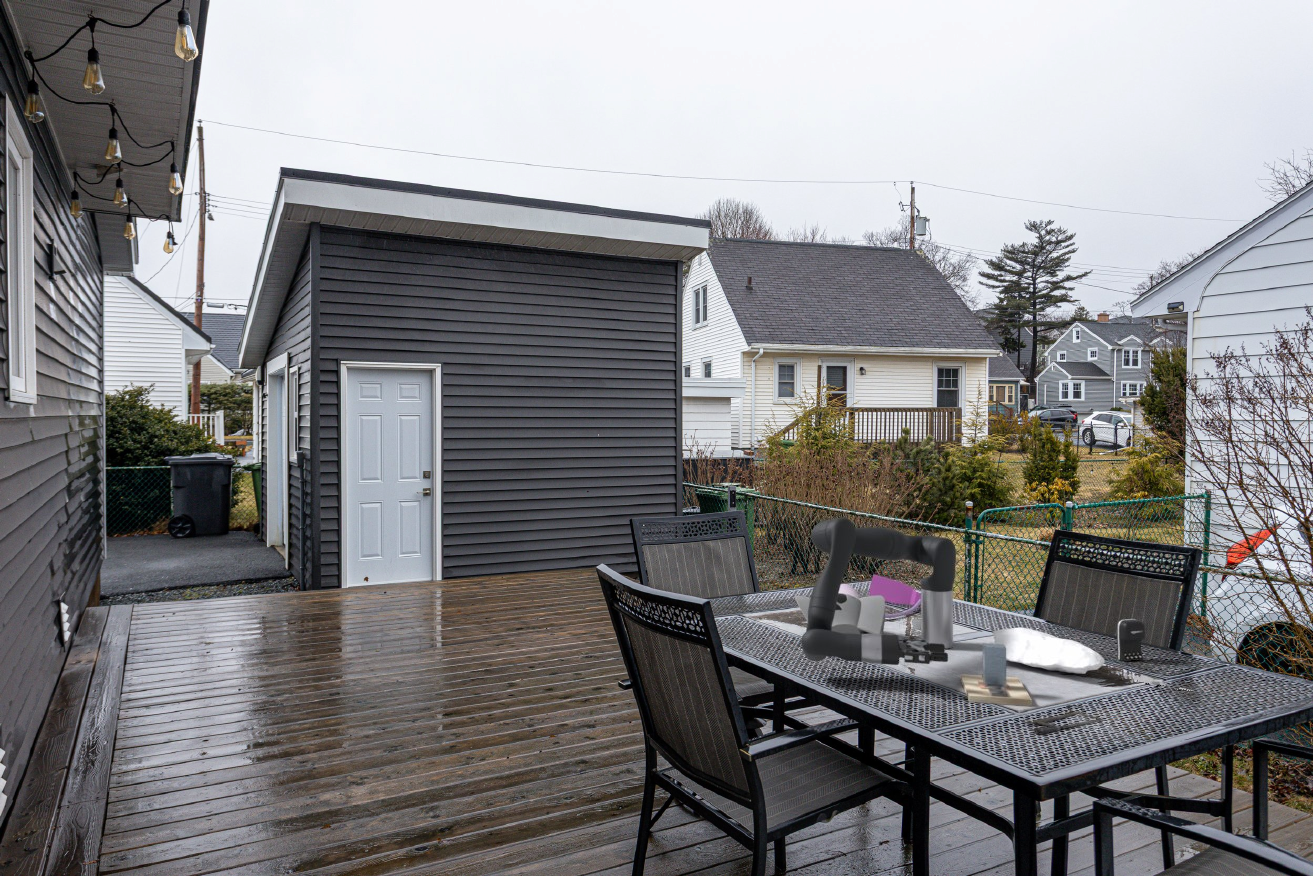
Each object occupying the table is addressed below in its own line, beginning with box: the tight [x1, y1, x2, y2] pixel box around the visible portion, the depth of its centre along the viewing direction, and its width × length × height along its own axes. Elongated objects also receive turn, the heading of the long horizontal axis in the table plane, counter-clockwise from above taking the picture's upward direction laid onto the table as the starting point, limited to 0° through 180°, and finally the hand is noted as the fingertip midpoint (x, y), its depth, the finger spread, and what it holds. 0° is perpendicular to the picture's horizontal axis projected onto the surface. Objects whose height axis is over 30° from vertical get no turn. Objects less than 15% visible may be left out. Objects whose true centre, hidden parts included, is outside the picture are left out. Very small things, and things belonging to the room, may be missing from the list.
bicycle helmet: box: [794, 593, 886, 635], centre depth 253 cm, size 28×26×16 cm
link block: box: [982, 643, 1007, 688], centre depth 201 cm, size 4×5×10 cm
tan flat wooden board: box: [960, 673, 1033, 707], centre depth 201 cm, size 18×14×2 cm
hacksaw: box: [1021, 704, 1106, 736], centre depth 182 cm, size 24×10×2 cm, turn 115°
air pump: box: [839, 574, 921, 619], centre depth 293 cm, size 32×38×10 cm
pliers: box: [1133, 675, 1193, 691], centre depth 203 cm, size 10×2×15 cm
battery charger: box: [1116, 618, 1146, 662], centre depth 229 cm, size 7×4×11 cm, turn 101°
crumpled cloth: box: [992, 627, 1105, 675], centre depth 224 cm, size 24×35×9 cm
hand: (946, 652), depth 204 cm, fingers open, 8 cm apart
